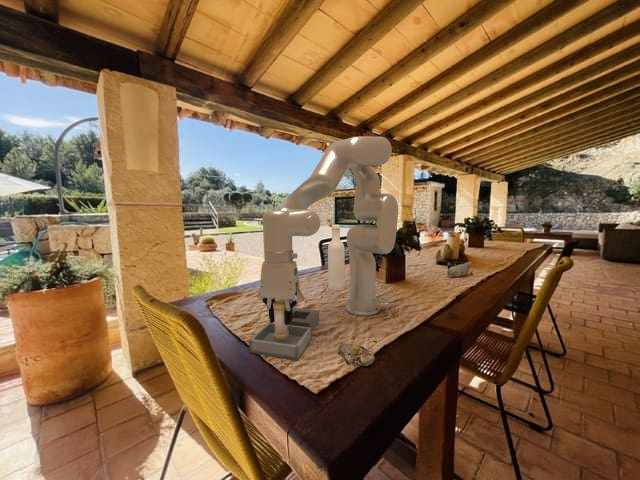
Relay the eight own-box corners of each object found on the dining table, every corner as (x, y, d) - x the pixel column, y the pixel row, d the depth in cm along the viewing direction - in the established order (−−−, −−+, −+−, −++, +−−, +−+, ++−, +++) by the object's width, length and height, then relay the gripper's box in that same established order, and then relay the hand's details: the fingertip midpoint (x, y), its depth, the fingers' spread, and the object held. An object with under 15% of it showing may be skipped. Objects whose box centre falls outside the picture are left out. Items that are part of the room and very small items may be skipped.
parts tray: (312, 338, 75) (311, 327, 75) (298, 360, 65) (297, 347, 64) (268, 333, 79) (268, 322, 79) (249, 352, 69) (248, 340, 68)
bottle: (324, 289, 120) (323, 225, 116) (333, 284, 127) (332, 224, 123) (340, 292, 116) (339, 225, 112) (347, 287, 123) (347, 224, 119)
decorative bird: (444, 277, 137) (444, 263, 136) (466, 273, 143) (466, 260, 142) (452, 279, 132) (453, 265, 132) (474, 276, 138) (475, 262, 137)
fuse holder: (319, 320, 88) (319, 310, 87) (309, 334, 78) (309, 323, 78) (292, 317, 91) (291, 307, 90) (279, 330, 81) (279, 319, 81)
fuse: (290, 334, 73) (289, 300, 72) (285, 341, 69) (283, 305, 68) (278, 332, 74) (276, 299, 73) (271, 339, 70) (270, 304, 69)
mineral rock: (383, 349, 66) (366, 353, 60) (381, 366, 65) (363, 373, 59) (349, 336, 73) (331, 339, 67) (347, 352, 73) (328, 357, 67)
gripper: (312, 255, 70) (313, 319, 72) (258, 253, 75) (260, 313, 77) (302, 261, 63) (304, 332, 65) (243, 258, 68) (247, 324, 70)
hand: (281, 321), depth 71 cm, fingers closed on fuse, 3 cm apart
